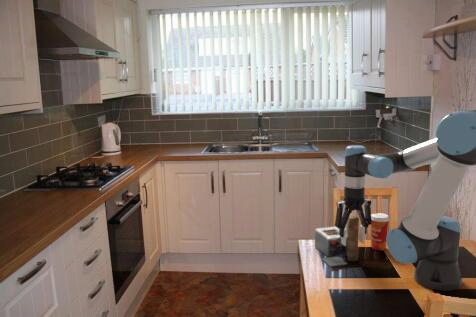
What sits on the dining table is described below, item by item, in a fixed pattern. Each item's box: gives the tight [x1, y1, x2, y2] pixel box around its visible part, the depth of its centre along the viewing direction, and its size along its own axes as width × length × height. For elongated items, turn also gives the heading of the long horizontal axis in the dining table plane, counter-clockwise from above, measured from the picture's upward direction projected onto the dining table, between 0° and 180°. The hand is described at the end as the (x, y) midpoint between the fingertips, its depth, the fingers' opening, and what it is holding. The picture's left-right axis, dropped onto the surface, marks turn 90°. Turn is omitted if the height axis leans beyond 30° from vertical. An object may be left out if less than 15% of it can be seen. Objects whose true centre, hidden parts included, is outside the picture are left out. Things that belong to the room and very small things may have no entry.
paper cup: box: [370, 212, 390, 251], centre depth 182 cm, size 8×8×14 cm
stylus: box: [346, 215, 360, 262], centre depth 171 cm, size 4×4×17 cm
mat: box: [321, 256, 348, 268], centre depth 170 cm, size 7×7×1 cm
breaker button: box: [327, 234, 337, 246], centre depth 180 cm, size 4×4×3 cm
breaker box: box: [314, 225, 348, 258], centre depth 180 cm, size 12×9×8 cm
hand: (352, 243), depth 171 cm, fingers open, 7 cm apart
